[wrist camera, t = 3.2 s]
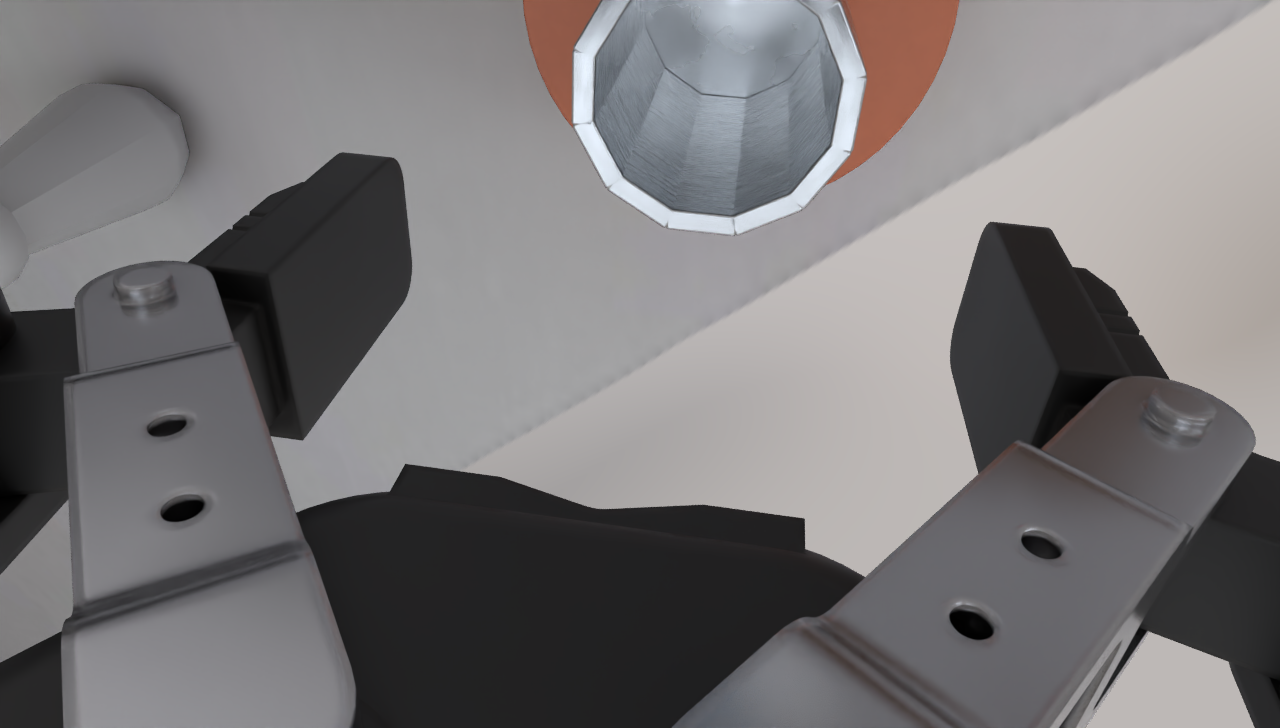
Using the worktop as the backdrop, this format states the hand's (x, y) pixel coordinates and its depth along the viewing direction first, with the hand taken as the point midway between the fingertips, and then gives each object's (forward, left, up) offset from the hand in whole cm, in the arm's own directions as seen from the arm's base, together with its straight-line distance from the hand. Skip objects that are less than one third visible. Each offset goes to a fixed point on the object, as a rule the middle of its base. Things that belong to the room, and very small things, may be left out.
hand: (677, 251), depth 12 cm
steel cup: (0, 0, -16) cm, 16 cm away
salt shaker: (-27, -10, -26) cm, 39 cm away
